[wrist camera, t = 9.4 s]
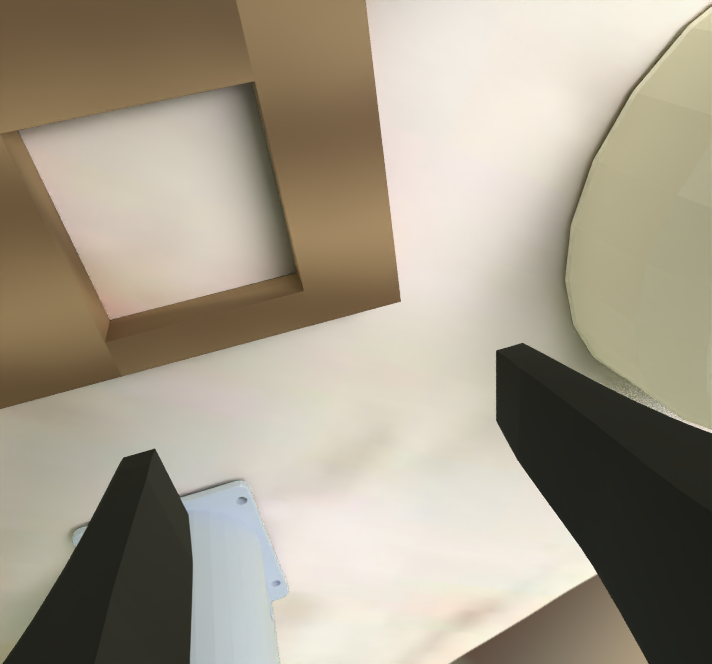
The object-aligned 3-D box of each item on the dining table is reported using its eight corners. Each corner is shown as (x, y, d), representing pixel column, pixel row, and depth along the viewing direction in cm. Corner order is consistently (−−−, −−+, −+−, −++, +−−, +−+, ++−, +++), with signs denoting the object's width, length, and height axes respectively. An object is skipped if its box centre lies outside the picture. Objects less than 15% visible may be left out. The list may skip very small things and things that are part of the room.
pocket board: (388, 283, 22) (400, 301, 21) (-27, 392, 20) (-41, 419, 19) (340, -87, 15) (354, -93, 14) (-295, 21, 13) (-343, 26, 12)
